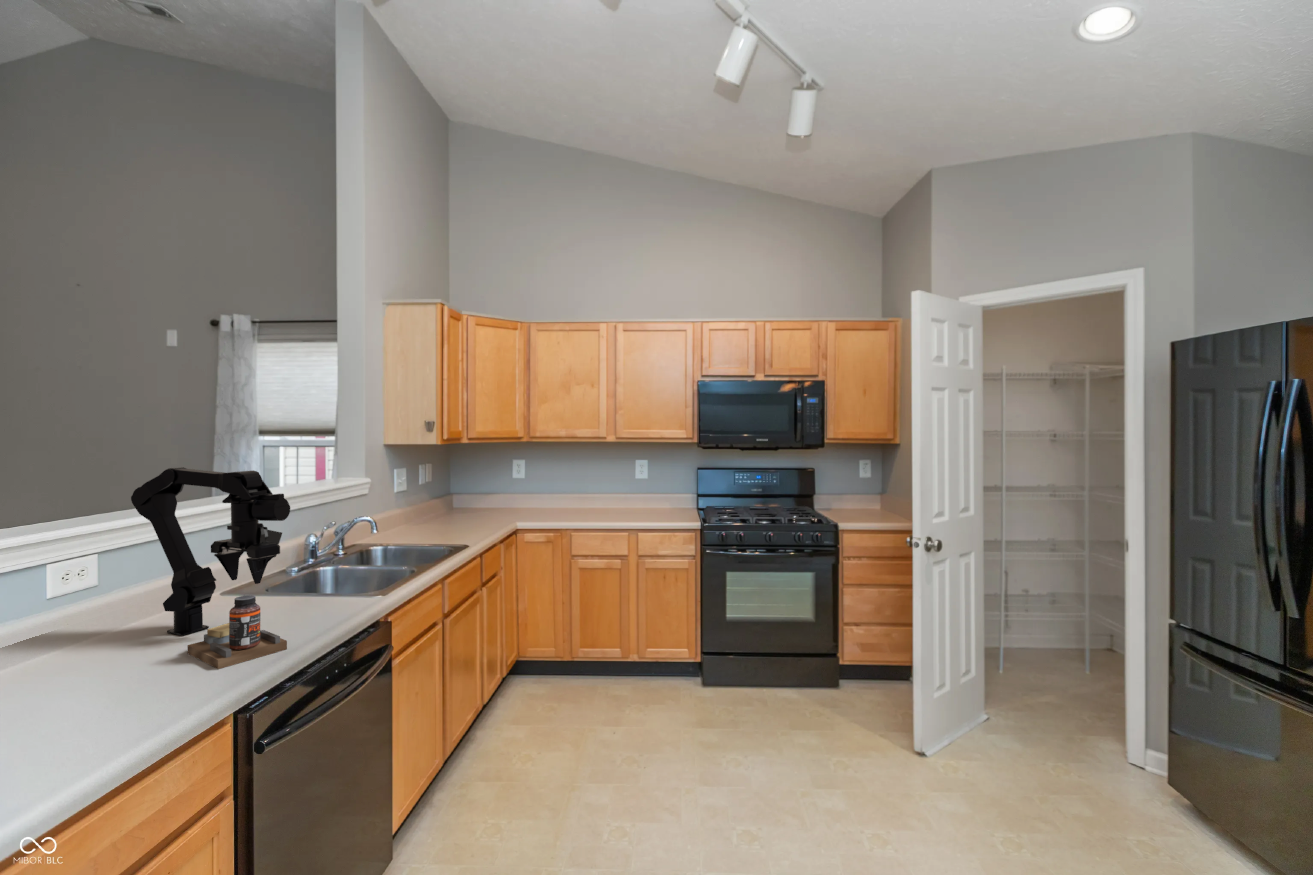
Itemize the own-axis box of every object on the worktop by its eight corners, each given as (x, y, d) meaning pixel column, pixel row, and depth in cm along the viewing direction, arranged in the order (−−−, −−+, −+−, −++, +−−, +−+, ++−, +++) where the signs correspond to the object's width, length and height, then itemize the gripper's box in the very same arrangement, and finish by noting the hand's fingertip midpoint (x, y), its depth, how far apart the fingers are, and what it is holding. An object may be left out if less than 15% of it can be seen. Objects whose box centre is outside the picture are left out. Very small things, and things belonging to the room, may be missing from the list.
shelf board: (187, 653, 137) (187, 632, 137) (254, 635, 149) (254, 616, 149) (218, 669, 128) (218, 646, 128) (286, 649, 140) (286, 628, 140)
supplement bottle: (253, 650, 134) (252, 600, 134) (223, 651, 133) (223, 601, 133) (265, 640, 140) (265, 593, 140) (237, 642, 139) (236, 594, 139)
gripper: (299, 518, 154) (300, 577, 154) (253, 514, 162) (254, 571, 162) (256, 524, 144) (257, 588, 144) (208, 520, 151) (209, 581, 152)
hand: (245, 581), depth 151 cm, fingers open, 9 cm apart
